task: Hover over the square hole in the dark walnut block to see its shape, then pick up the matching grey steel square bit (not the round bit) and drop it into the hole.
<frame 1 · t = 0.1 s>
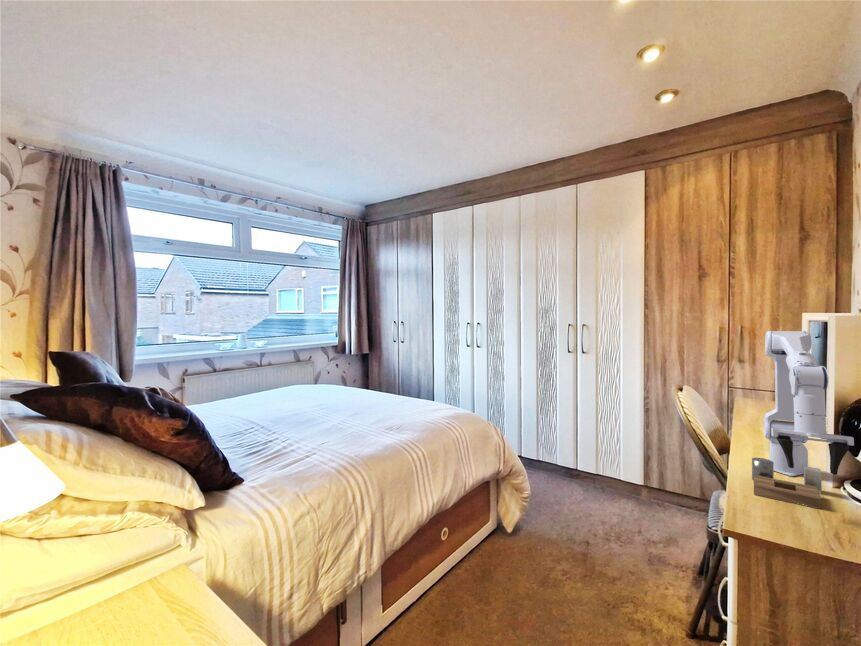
hand: (811, 470, 95), 10 cm above the table, tool pointing down, fingers open, 7 cm apart
bore block: (785, 495, 104), on the table
round bit: (762, 480, 114), on the table
square bit: (812, 490, 107), on the table
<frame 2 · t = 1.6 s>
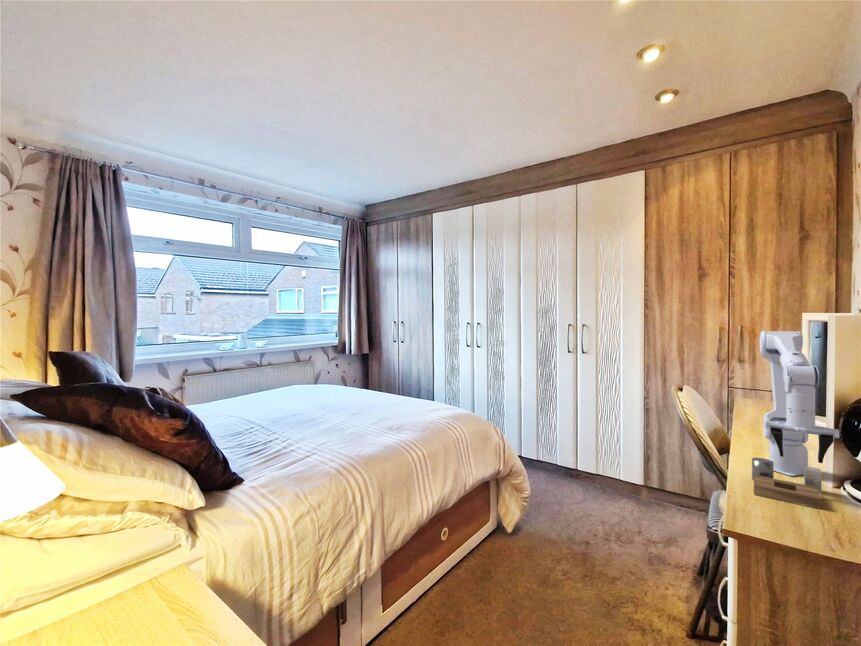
hand: (800, 458, 106), 9 cm above the table, tool pointing down, fingers open, 7 cm apart
nothing on the table moved.
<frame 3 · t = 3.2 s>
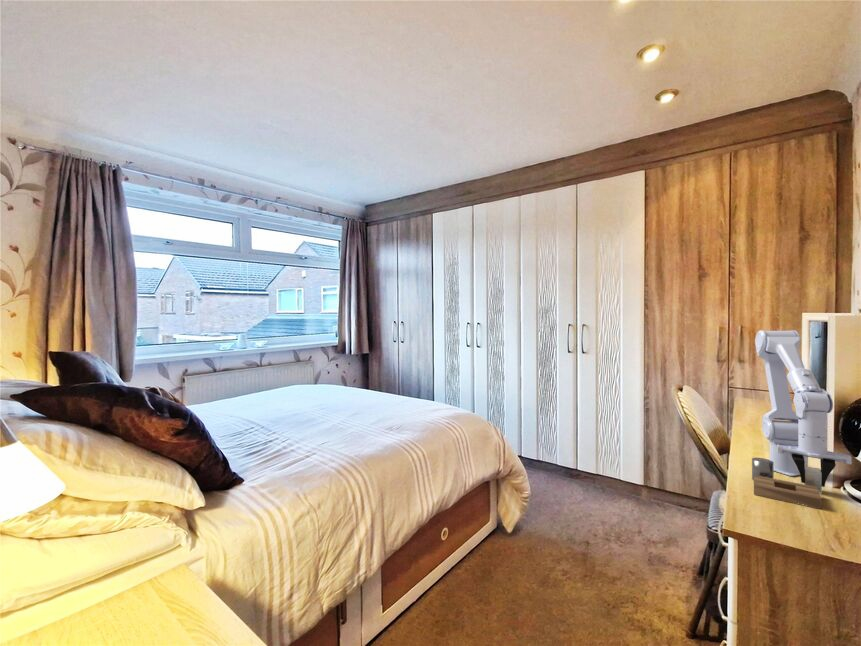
hand: (812, 483, 107), 2 cm above the table, tool pointing down, fingers closed on square bit, 3 cm apart
square bit: (812, 490, 107), on the table, touching gripper
everything else where it was.
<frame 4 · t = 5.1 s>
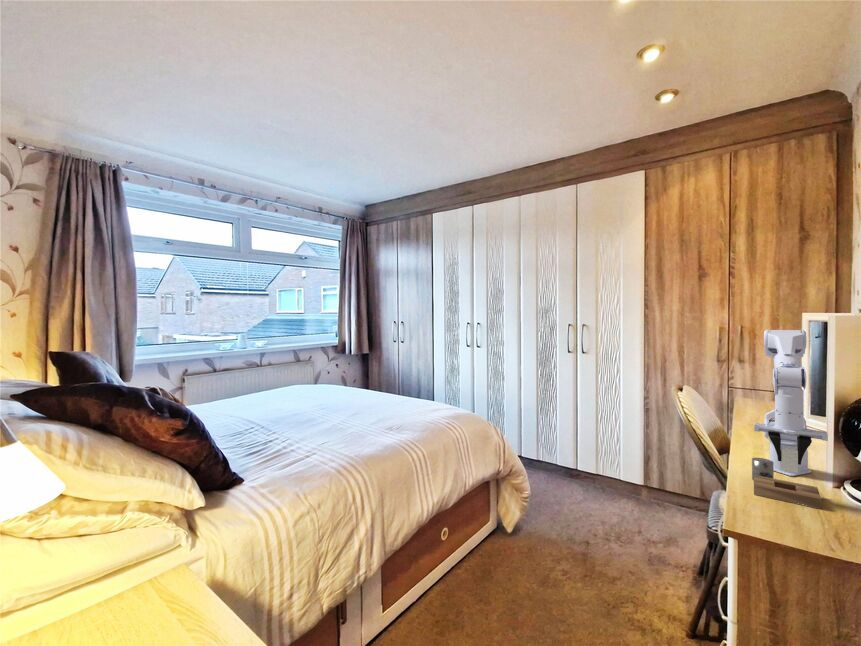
hand: (789, 461, 105), 9 cm above the table, tool pointing down, fingers closed on square bit, 3 cm apart
square bit: (789, 469, 105), point 7 cm above the table, touching gripper
everything else where it was.
when the fingers open (3 cm above the table, at t = 6.9 s): square bit drops 1 cm, resting on bore block.
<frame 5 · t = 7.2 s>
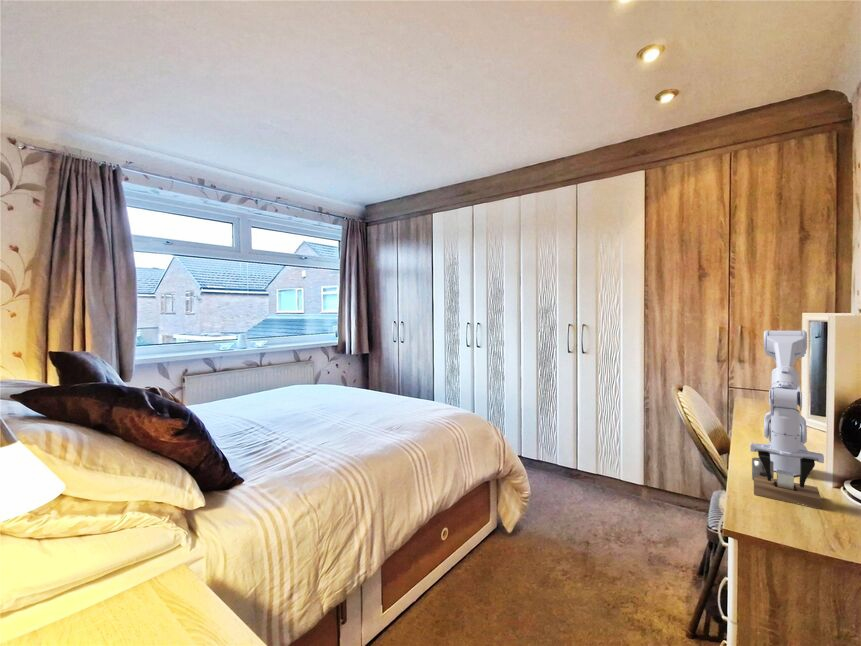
hand: (785, 482, 104), 3 cm above the table, tool pointing down, fingers open, 6 cm apart
square bit: (785, 494, 104), resting on bore block
everything else where it was.
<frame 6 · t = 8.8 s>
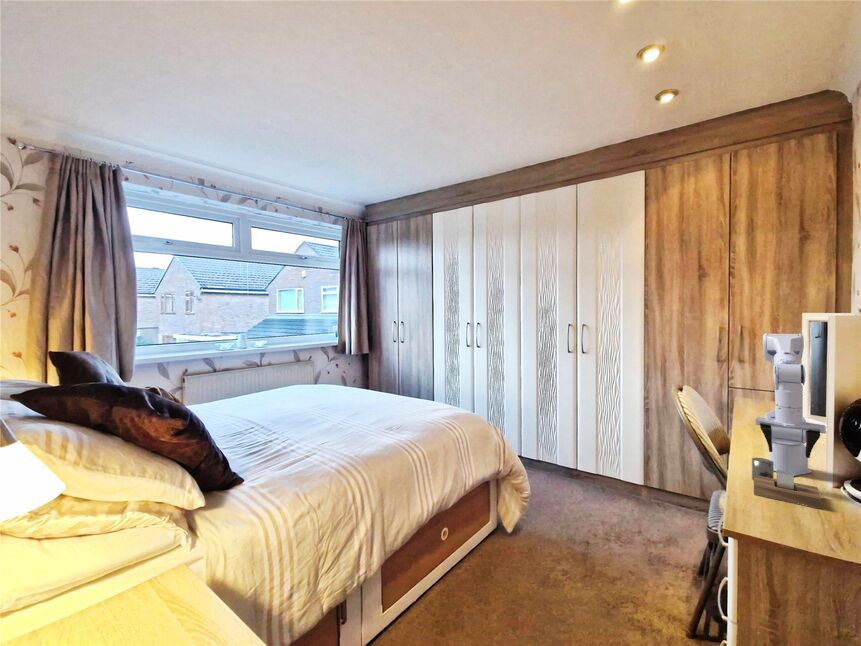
hand: (788, 453, 110), 9 cm above the table, tool pointing down, fingers open, 7 cm apart
nothing on the table moved.
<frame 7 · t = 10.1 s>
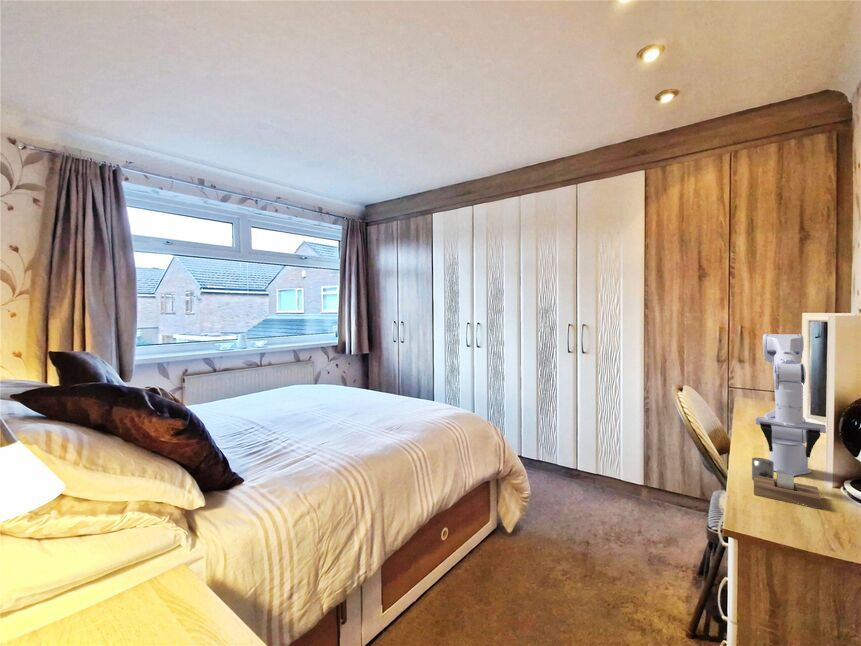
hand: (788, 453, 110), 9 cm above the table, tool pointing down, fingers open, 7 cm apart
nothing on the table moved.
at the end: square bit 0.1 cm off-centre on the bore block, point 0.2 cm above the bore block's base; square bit tilted 0°; round bit moved 0.0 cm from its start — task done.
